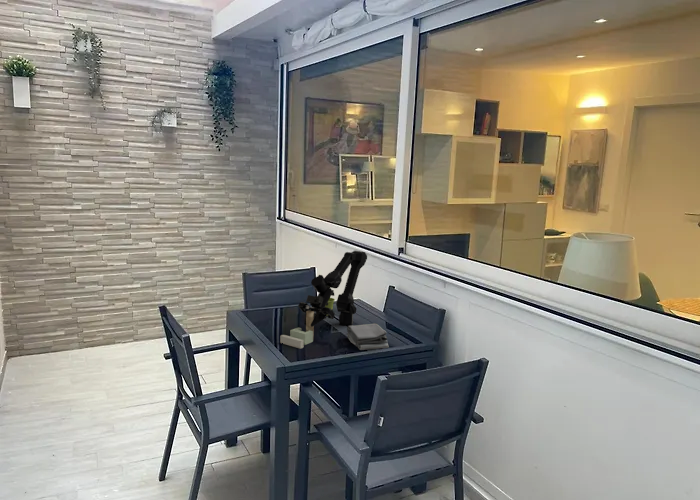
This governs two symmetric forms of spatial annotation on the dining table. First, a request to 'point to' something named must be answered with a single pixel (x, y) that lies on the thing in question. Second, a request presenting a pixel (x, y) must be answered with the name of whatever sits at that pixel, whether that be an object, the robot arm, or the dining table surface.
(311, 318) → the dowel
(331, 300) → the plant pot
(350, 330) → the towel
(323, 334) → the dining table surface
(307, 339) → the block
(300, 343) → the kerb
